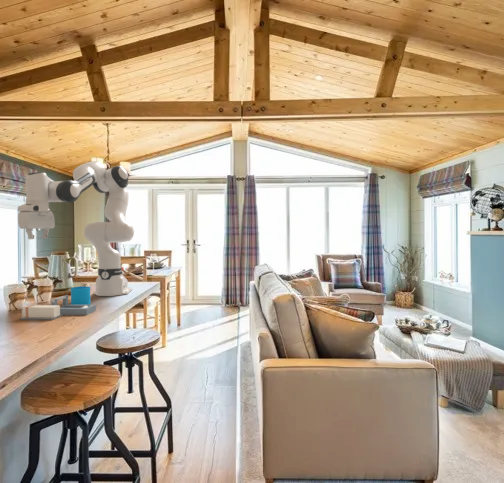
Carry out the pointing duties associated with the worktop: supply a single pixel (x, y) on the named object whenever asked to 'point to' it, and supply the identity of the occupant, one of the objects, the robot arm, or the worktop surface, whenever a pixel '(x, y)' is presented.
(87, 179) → the robot arm
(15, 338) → the worktop surface
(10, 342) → the worktop surface
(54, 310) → the beige rectangular block
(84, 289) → the mug
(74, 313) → the dispenser
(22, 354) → the worktop surface
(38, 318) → the pad
